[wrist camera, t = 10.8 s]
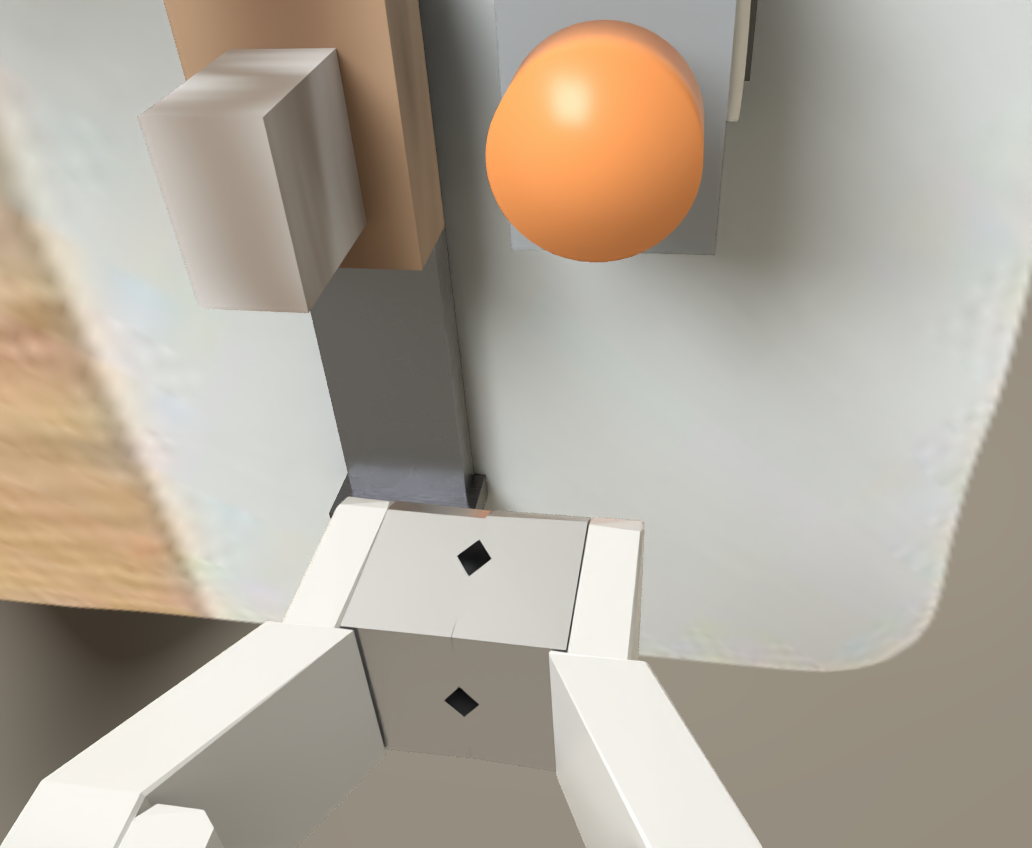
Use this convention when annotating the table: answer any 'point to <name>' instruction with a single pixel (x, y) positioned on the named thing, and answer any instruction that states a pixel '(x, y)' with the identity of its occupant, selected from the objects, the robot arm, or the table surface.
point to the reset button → (598, 142)
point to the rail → (398, 384)
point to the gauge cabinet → (700, 41)
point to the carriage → (295, 146)
